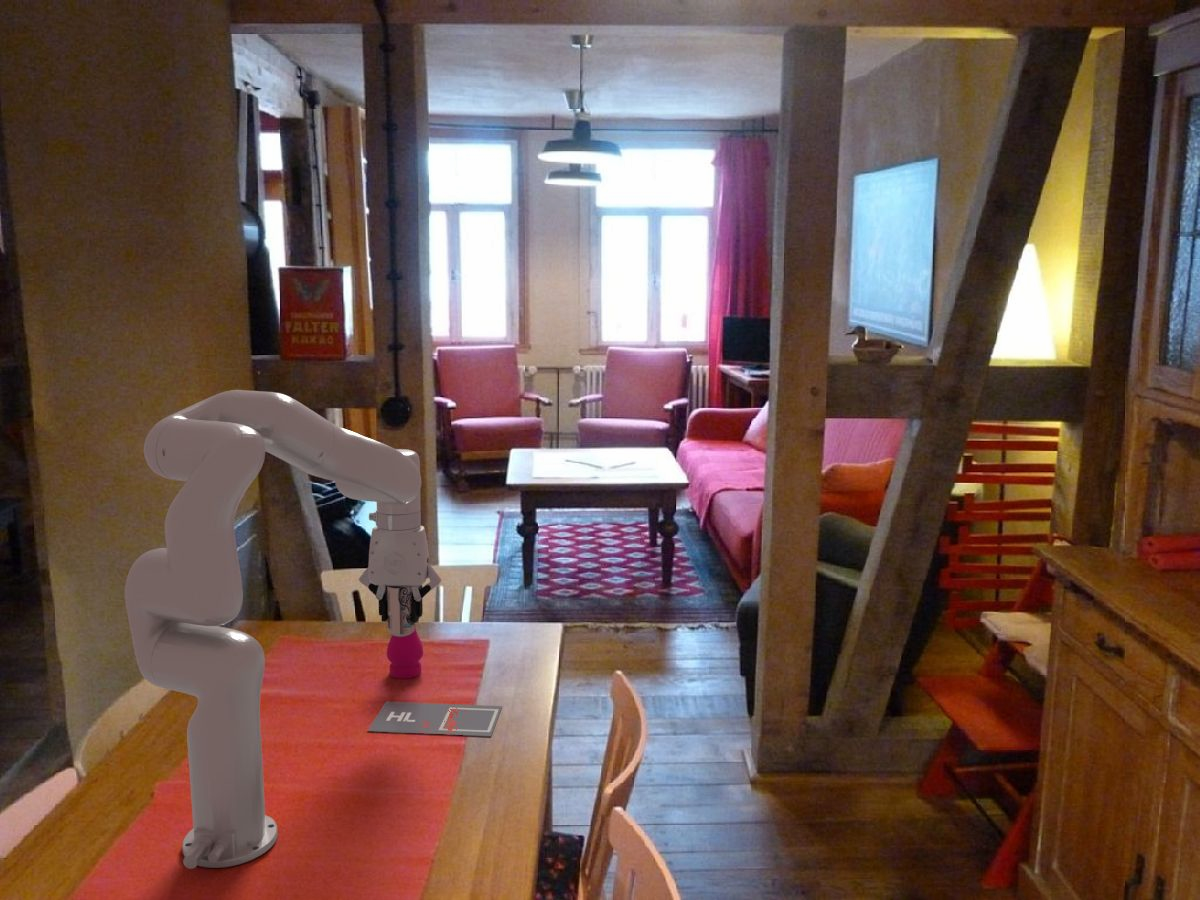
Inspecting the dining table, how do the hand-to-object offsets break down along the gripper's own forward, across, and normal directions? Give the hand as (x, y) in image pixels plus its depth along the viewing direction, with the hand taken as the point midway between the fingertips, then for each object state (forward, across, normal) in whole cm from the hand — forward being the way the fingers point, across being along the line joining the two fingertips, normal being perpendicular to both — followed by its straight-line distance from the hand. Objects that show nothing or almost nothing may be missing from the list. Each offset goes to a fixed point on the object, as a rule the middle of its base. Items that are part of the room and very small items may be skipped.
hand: (400, 618), depth 175 cm
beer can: (+3, 0, 0) cm, 3 cm away
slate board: (+19, +6, 0) cm, 20 cm away
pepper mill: (+19, -5, +20) cm, 28 cm away
